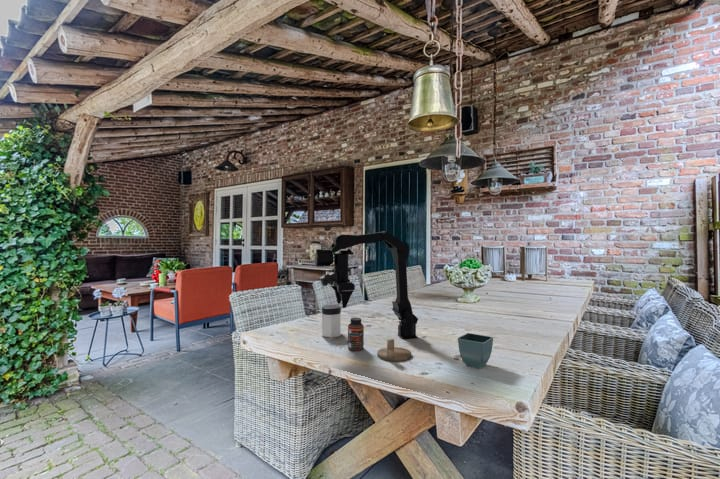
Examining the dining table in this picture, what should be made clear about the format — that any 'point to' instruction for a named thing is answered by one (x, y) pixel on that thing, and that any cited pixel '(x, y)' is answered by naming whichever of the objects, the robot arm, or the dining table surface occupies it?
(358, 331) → the supplement bottle
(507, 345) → the dining table surface
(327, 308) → the jar
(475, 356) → the flower pot
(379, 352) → the flange plate
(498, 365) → the dining table surface
